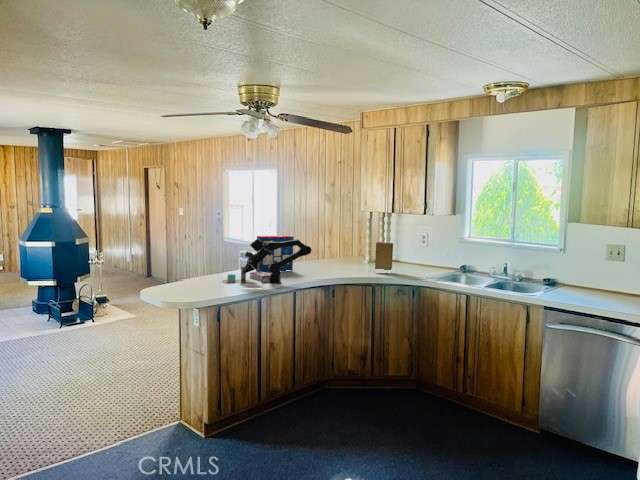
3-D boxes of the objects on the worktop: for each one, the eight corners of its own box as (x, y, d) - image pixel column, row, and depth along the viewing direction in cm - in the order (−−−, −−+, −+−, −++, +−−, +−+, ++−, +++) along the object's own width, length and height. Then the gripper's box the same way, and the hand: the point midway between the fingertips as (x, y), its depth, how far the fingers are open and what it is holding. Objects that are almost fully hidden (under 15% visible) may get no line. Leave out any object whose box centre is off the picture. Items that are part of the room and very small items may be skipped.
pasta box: (287, 269, 390) (289, 235, 387) (292, 271, 383) (293, 236, 381) (256, 271, 376) (257, 236, 373) (260, 273, 369) (261, 237, 366)
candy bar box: (262, 271, 348) (275, 274, 336) (262, 277, 348) (275, 281, 336) (249, 272, 340) (262, 275, 328) (249, 279, 341) (262, 283, 329)
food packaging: (392, 272, 394) (393, 242, 392) (390, 274, 385) (392, 243, 383) (376, 271, 398) (377, 241, 395) (374, 273, 389) (375, 242, 386)
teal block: (234, 280, 326) (235, 273, 326) (235, 282, 322) (235, 274, 321) (227, 280, 325) (227, 273, 325) (227, 282, 321) (227, 274, 320)
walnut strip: (250, 281, 332) (250, 265, 331) (251, 284, 321) (251, 268, 320) (222, 281, 328) (222, 265, 327) (222, 284, 316) (222, 268, 315)
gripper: (251, 245, 333) (234, 261, 332) (253, 249, 315) (235, 265, 314) (262, 257, 336) (245, 272, 334) (264, 261, 318) (247, 277, 316)
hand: (243, 271), depth 325 cm, fingers open, 9 cm apart
